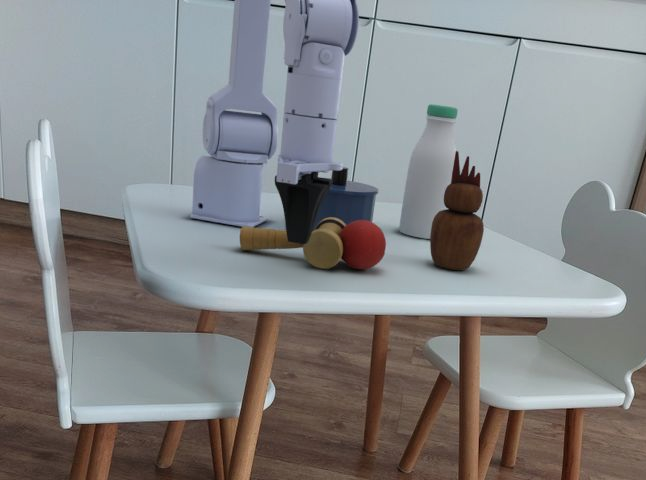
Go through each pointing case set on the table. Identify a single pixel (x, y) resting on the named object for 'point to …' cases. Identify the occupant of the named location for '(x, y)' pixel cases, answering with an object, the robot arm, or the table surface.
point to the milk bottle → (429, 172)
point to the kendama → (326, 243)
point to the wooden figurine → (458, 221)
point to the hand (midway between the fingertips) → (297, 241)
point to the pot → (346, 208)
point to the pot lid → (349, 185)
